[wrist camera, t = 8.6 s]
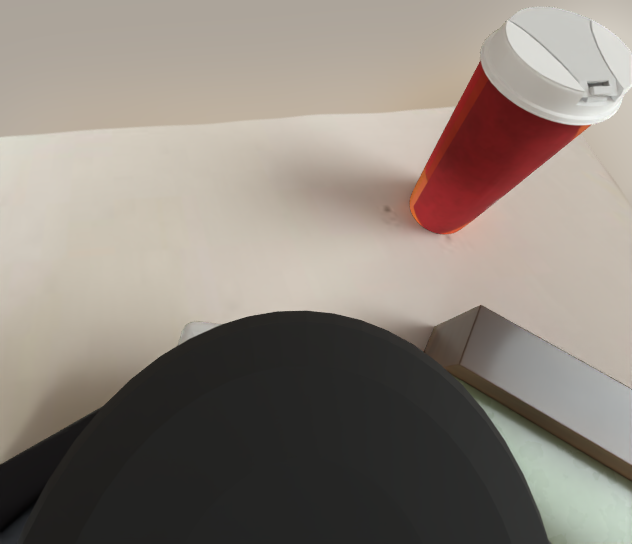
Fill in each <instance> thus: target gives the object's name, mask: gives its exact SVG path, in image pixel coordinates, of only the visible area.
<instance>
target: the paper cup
mask: <svg viewBox="0 0 632 544" xmlns="http://www.w3.org/2000/svg"><path fill="white" fill-rule="evenodd" d="M631 87H632V53H631V51H630V50H629V48H628V47H627V46H626V45H625V44H624V43H623V41H622V40H621V39H620V38H618V37H617V36H616V35H615V34H614V33H612V32H611V31H610V30H608V29H607V28H606V27H604V26H602V25H601V24H599V23H597V22H596V21H594V20H591V19H590V18H587V17H584V16H582V15H579V14H576V13H573V12H571V11H567V10H563V9H560V8H553V7H531V8H525V9H523V10H520V11H518V12H517V13H515V14H514V15H513V16H512V17H511V18H510V19H509V20H508V21H506V22H505V23H504V24H503V25H502V26H501V27H500V28H499V29H498V30H496V31H494V32H493V33H492V34H491V35H490V36H488V38H486V39H485V41H484V43H483V45H482V47H481V51H480V62H479V65H478V66H477V68H476V70H475V72H474V74H473V76H472V78H471V80H470V82H469V83H468V85H467V87H466V89H465V91H464V93H463V95H462V97H461V99H460V101H459V103H458V105H457V106H456V108H455V110H454V112H453V114H452V116H451V118H450V120H449V122H448V124H447V126H446V127H445V129H444V131H443V133H442V135H441V137H440V139H439V141H438V143H437V145H436V147H435V149H434V151H433V152H432V154H431V156H430V158H429V160H428V162H427V164H426V166H425V168H424V170H423V172H422V174H421V176H420V178H419V180H418V182H417V184H416V186H415V188H414V190H413V192H412V194H411V197H410V210H411V213H412V215H413V217H414V218H415V220H416V221H417V222H418V223H419V224H420V225H421V226H423V227H424V228H425V229H427V230H429V231H431V232H434V233H438V234H451V233H454V232H457V231H459V230H460V229H462V228H463V227H465V226H466V225H467V224H469V223H470V222H471V221H472V220H474V219H475V218H476V217H478V216H479V215H480V214H481V213H483V212H484V211H485V210H486V209H488V208H489V207H490V206H491V205H493V204H494V203H495V202H496V201H498V200H499V199H500V198H501V197H503V196H504V195H505V194H506V193H508V192H509V191H510V190H511V189H513V188H514V187H515V186H516V185H518V184H519V183H520V182H521V181H523V180H524V179H525V178H526V177H527V176H529V175H530V174H531V173H532V172H534V171H535V170H536V169H537V168H539V167H540V166H541V165H542V164H544V163H545V162H546V161H547V160H548V159H550V158H551V157H552V156H553V155H555V154H556V153H557V152H558V151H560V150H561V149H562V148H563V147H565V146H566V145H567V144H568V143H570V142H571V141H572V140H573V139H574V138H576V137H577V136H578V135H579V134H581V133H582V132H583V131H584V130H586V129H587V128H588V127H589V126H590V125H592V124H597V123H600V122H603V121H605V120H607V119H608V118H610V117H612V116H613V115H614V114H615V113H616V112H617V110H618V108H619V106H620V104H621V102H622V99H623V96H624V95H625V94H626V92H627V91H628V90H629V89H630V88H631Z"/></svg>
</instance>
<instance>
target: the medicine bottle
mask: <svg viewBox="0 0 632 544" xmlns="http://www.w3.org/2000/svg"><path fill="white" fill-rule="evenodd" d="M17 544H550V543H549V540H548V537H547V534H546V531H545V527H544V524H543V521H542V518H541V515H540V512H539V510H538V507H537V505H536V503H535V500H534V498H533V495H532V493H531V491H530V488H529V486H528V484H527V481H526V479H525V477H524V474H523V472H522V471H521V469H520V467H519V465H518V463H517V461H516V460H515V458H514V456H513V454H512V452H511V451H510V449H509V447H508V445H507V443H506V441H505V440H504V438H503V437H502V435H501V434H500V432H499V431H498V430H497V428H496V427H495V425H494V424H493V422H492V421H491V419H490V418H489V416H488V415H487V414H486V412H485V411H484V409H483V408H482V407H481V406H480V405H479V404H478V402H477V401H476V400H475V399H474V398H473V397H472V396H471V394H470V393H469V392H468V391H467V390H466V389H465V387H464V386H463V385H462V384H461V383H460V382H459V381H458V380H457V379H455V378H454V377H453V376H452V375H451V374H450V373H449V372H448V371H447V370H446V369H445V368H444V367H442V366H441V365H440V364H439V363H438V362H437V361H435V360H434V359H433V358H431V357H430V356H428V355H427V354H426V353H424V352H423V351H421V350H420V349H419V348H417V347H416V346H415V345H413V344H411V343H409V342H408V341H406V340H404V339H402V338H400V337H398V336H397V335H395V334H393V333H391V332H389V331H387V330H385V329H382V328H380V327H377V326H375V325H372V324H369V323H367V322H364V321H362V320H358V319H354V318H350V317H346V316H341V315H337V314H332V313H323V312H313V311H282V312H272V313H266V314H260V315H254V316H248V317H245V318H242V319H239V320H235V321H232V322H229V323H225V324H216V323H209V322H202V321H195V322H190V323H188V324H187V325H185V327H184V329H183V330H182V333H181V336H180V340H179V343H178V346H177V347H175V348H173V349H172V350H170V351H169V352H167V353H165V354H164V355H162V356H160V357H159V358H158V359H156V360H155V361H154V362H152V363H151V364H150V365H149V366H147V367H146V368H145V369H143V370H142V371H141V372H140V373H138V374H137V375H136V376H135V377H133V378H132V379H131V380H130V381H129V382H128V383H127V384H126V385H125V386H123V387H122V388H121V389H120V390H119V391H118V392H117V393H116V394H115V395H114V396H113V397H112V398H111V399H110V400H109V401H108V402H107V403H106V404H105V405H104V406H103V407H102V408H101V409H100V410H99V412H98V413H97V414H96V415H95V417H94V418H93V419H92V420H91V421H90V423H89V424H88V425H87V426H86V427H85V429H84V430H83V431H82V432H81V433H80V435H79V436H78V437H77V438H76V440H75V441H74V442H73V444H72V445H71V447H70V448H69V450H68V451H67V453H66V454H65V456H64V457H63V459H62V460H61V462H60V463H59V465H58V466H57V468H56V469H55V471H54V472H53V474H52V475H51V477H50V478H49V480H48V481H47V483H46V485H45V487H44V489H43V491H42V493H41V495H40V497H39V499H38V500H37V502H36V504H35V506H34V508H33V510H32V512H31V514H30V516H29V518H28V519H27V521H26V523H25V525H24V527H23V530H22V532H21V535H20V537H19V540H18V542H17Z"/></svg>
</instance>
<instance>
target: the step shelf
mask: <svg viewBox="0 0 632 544" xmlns="http://www.w3.org/2000/svg"><path fill="white" fill-rule="evenodd" d="M424 353H426V354H427V355H428V356H430V357H431V358H433V359H434V360H435V361H437V362H438V363H439V364H440V365H441V366H442V367H444V368H445V369H446V370H447V371H448V372H449V373H450V374H451V375H452V376H453V377H454V378H455V379H457V380H458V381H459V382H460V383H461V384H462V385H463V386H464V387H465V389H466V390H467V391H468V392H469V393H470V394H471V396H472V397H473V398H474V399H475V400H476V401H477V402H478V404H479V405H480V406H481V407H482V408H483V409H484V411H485V412H486V414H487V415H488V416H489V418H490V419H491V421H492V422H493V424H494V425H495V427H496V428H497V430H498V431H499V432H500V434H501V435H502V437H503V438H504V440H505V441H506V443H507V445H508V447H509V449H510V451H511V452H512V454H513V456H514V458H515V460H516V461H517V463H518V465H519V467H520V469H521V471H522V472H523V474H524V477H525V479H526V481H527V484H528V486H529V488H530V491H531V493H532V495H533V498H534V500H535V503H536V505H537V507H538V510H539V512H540V515H541V518H542V521H543V524H544V527H545V531H546V534H547V537H548V540H549V541H550V542H551V543H552V544H632V389H631V388H629V387H627V386H626V385H624V384H622V383H620V382H618V381H617V380H615V379H613V378H611V377H609V376H608V375H606V374H604V373H602V372H600V371H599V370H597V369H595V368H593V367H591V366H590V365H588V364H586V363H584V362H583V361H581V360H579V359H577V358H575V357H574V356H572V355H570V354H568V353H566V352H565V351H563V350H561V349H559V348H557V347H556V346H554V345H552V344H550V343H548V342H547V341H545V340H543V339H541V338H539V337H538V336H536V335H534V334H532V333H530V332H529V331H527V330H525V329H523V328H521V327H520V326H518V325H516V324H514V323H513V322H511V321H509V320H507V319H505V318H504V317H502V316H500V315H498V314H496V313H495V312H493V311H491V310H489V309H487V308H486V307H484V306H482V305H480V306H477V307H475V308H473V309H471V310H469V311H467V312H465V313H462V314H460V315H458V316H456V317H454V318H452V319H450V320H447V321H445V322H443V323H441V324H439V325H437V326H435V327H434V330H433V332H432V334H431V337H430V339H429V341H428V344H427V346H426V348H425V351H424Z"/></svg>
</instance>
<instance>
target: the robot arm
mask: <svg viewBox="0 0 632 544" xmlns="http://www.w3.org/2000/svg"><path fill="white" fill-rule="evenodd" d="M102 407H103V406H102ZM102 407H101V408H102ZM101 408H99V409H97V410H95V411H94V412H92V413H90V414H88V415H87V416H85V417H83V418H81V419H80V420H78V421H76V422H74V423H73V424H71V425H69V426H67V427H66V428H64V429H62V430H60V431H59V432H57V433H55V434H53V435H51V436H50V437H48V438H46V439H44V440H43V441H41V442H39V443H37V444H36V445H34V446H32V447H30V448H29V449H27V450H25V451H23V452H22V453H20V454H18V455H16V456H15V457H13V458H11V459H9V460H8V461H6V462H4V463H2V464H1V465H0V544H17V542H18V540H19V537H20V535H21V532H22V530H23V527H24V525H25V523H26V521H27V519H28V518H29V516H30V514H31V512H32V510H33V508H34V506H35V504H36V502H37V500H38V499H39V497H40V495H41V493H42V491H43V489H44V487H45V485H46V483H47V481H48V480H49V478H50V477H51V475H52V474H53V472H54V471H55V469H56V468H57V466H58V465H59V463H60V462H61V460H62V459H63V457H64V456H65V454H66V453H67V451H68V450H69V448H70V447H71V445H72V444H73V442H74V441H75V440H76V438H77V437H78V436H79V435H80V433H81V432H82V431H83V430H84V429H85V427H86V426H87V425H88V424H89V423H90V421H91V420H92V419H93V418H94V417H95V415H96V414H97V413H98V412H99V410H100V409H101ZM549 543H550V544H552V543H551V542H550V541H549Z"/></svg>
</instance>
